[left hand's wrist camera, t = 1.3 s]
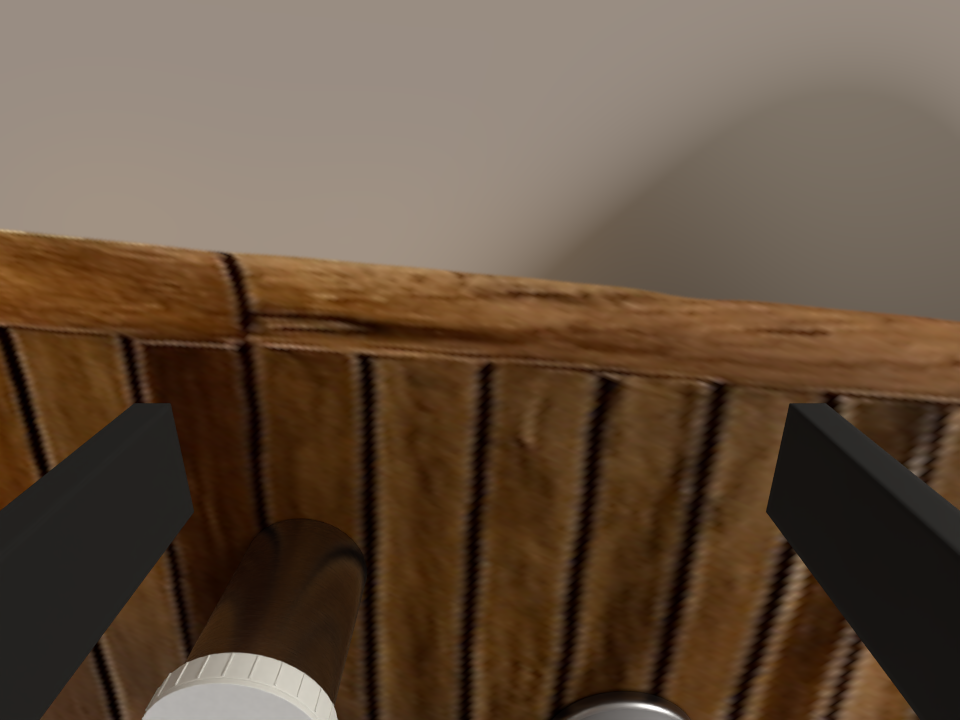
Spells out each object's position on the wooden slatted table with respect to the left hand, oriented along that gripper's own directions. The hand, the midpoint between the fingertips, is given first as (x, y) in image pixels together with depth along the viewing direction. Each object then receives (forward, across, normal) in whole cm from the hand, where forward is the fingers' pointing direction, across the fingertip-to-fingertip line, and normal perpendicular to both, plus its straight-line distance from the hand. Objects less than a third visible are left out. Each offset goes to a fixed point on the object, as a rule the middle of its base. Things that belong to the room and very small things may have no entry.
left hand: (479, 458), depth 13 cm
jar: (+28, +14, +28) cm, 42 cm away
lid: (+13, +14, +28) cm, 34 cm away
